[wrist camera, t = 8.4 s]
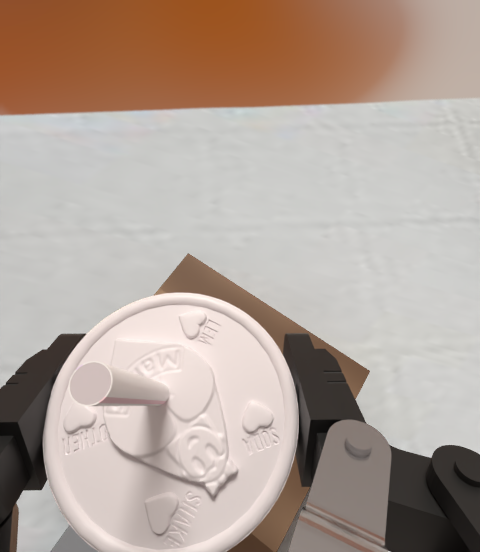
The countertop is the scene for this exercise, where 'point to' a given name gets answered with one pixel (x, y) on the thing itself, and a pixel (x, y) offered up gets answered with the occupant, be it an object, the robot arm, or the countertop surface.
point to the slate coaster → (72, 543)
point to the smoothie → (171, 427)
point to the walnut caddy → (204, 280)
